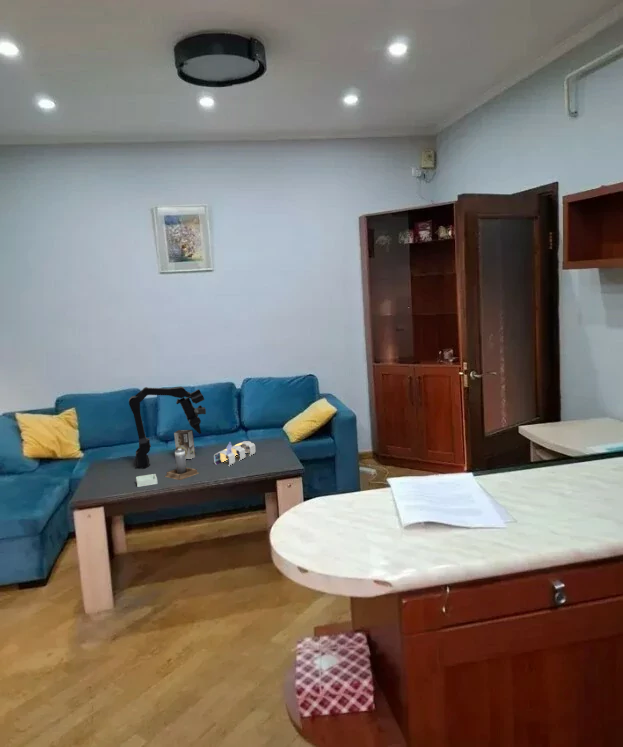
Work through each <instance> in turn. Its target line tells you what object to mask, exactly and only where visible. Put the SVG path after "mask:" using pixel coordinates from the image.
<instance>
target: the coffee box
mask: <svg viewBox="0 0 623 747" xmlns="http://www.w3.org/2000/svg"><path fill="white" fill-rule="evenodd" d="M173 436H174V443H175V445H174V446H175V450H178V449H179V448H181V449H184V450H185V459H191V460H193V459H194V458H196V450H195V440H194V429H178V430H176V431H174V433H173ZM192 458H193V459H192Z"/></svg>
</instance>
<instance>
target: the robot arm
mask: <svg viewBox="0 0 623 747" xmlns="http://www.w3.org/2000/svg"><path fill="white" fill-rule="evenodd" d="M147 396H169V397H174V398H176V402H175V403H176V405H178V404H180V407H181V408H182V410H183V412H184V414H185V416H186V420H187V422H188V424H189V426H190V427H191V428H192V430H195V431H196V432H197V433H198V434H199V435H200V434H202V430H201V425H200V424H201V422H202V420H201V418H200V416H199V415H206V413H207V411H206V410H207V409H206V407H203V406H202V405H201V404H200V405H198V407H195V406H194V405H193V404H195V405H197V404H199V403H200V402H202V401H205V400H206V399H205V398H204V395H203V394H202V392H201V391H200V389H199V388H198V389H196V390H194V391H193V392H190V391H188V390H186V388H185V387H183V386H175V387H169V388H167V387H147V386H146V387H143V388H142V389H141V390H140V391H139V392H138V393H137V394H135V395H131V396H130V398H129V399H128V404H129V407H130V409H131V412H132V414H133V417H134V422H135V426H136V432H137V436H138V448H137V449H136V450H135V457H134V458H135V460H134V461H135V466H134V469H146V468H148V467H150V466H151V463H150V458H149V455H148V454H149V453H150V451H151V448H152V444H151V442H150V438H149V437H148V438H147V437H146V433H145V430H144V429H145V428H144V424H143V420H142V416H141V402H142V401H143V400H145V399H146V397H147Z"/></svg>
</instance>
